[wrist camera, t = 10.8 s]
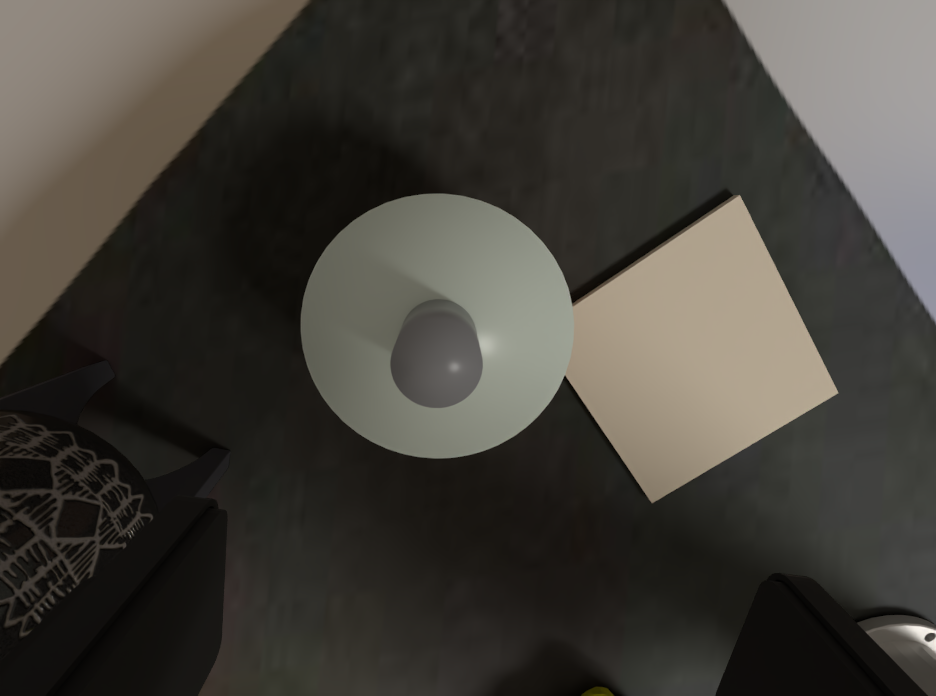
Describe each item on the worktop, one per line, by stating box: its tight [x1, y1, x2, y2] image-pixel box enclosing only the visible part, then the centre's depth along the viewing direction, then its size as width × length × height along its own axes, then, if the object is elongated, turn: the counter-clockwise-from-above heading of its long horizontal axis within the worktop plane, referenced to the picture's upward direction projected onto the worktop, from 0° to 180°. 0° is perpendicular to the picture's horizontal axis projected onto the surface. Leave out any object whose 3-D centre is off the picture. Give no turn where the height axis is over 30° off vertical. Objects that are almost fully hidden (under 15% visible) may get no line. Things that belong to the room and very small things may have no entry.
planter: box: [0, 360, 230, 662], centre depth 23 cm, size 13×13×18 cm
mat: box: [565, 195, 838, 503], centre depth 31 cm, size 15×14×1 cm
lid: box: [301, 194, 574, 458], centre depth 21 cm, size 13×13×5 cm
